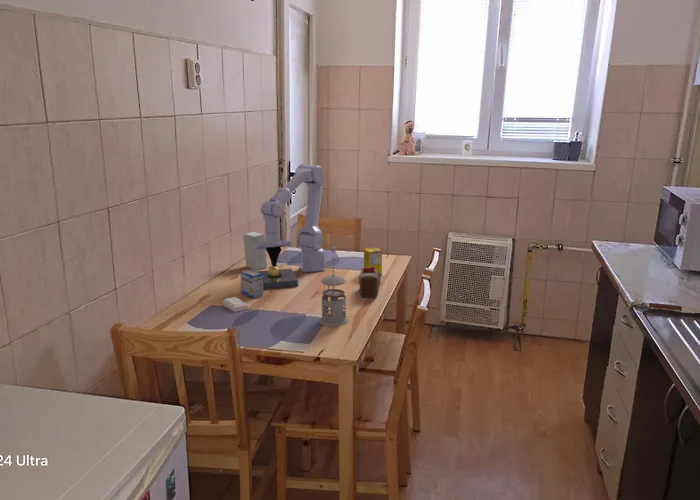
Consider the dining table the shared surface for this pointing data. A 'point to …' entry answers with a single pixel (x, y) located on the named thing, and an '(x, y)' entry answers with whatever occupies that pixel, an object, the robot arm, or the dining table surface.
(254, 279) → the medicine box
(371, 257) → the supplement box
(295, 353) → the dining table surface
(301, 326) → the dining table surface
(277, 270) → the cylinder
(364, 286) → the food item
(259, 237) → the skincare box
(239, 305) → the soap bar
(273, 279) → the jig
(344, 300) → the french press
